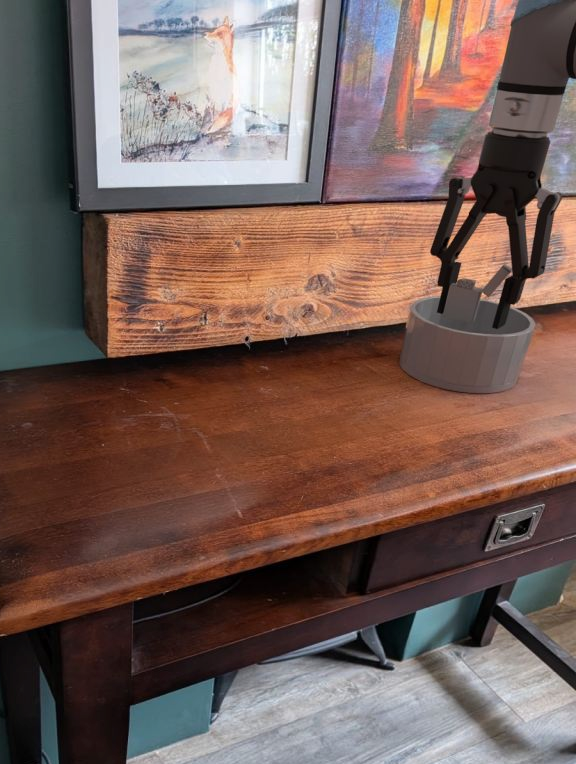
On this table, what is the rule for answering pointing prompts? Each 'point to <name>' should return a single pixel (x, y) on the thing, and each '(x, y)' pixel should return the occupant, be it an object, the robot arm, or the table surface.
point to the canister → (465, 348)
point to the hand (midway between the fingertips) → (470, 318)
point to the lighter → (470, 296)
